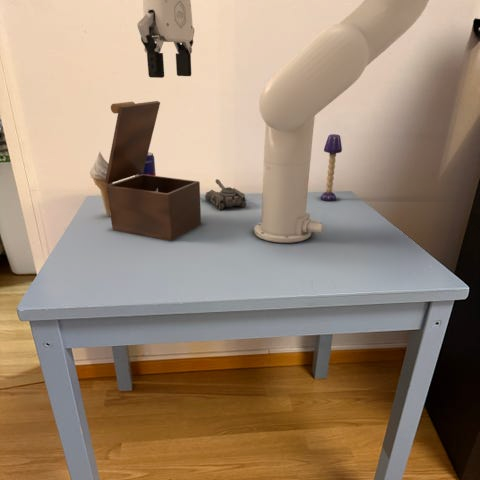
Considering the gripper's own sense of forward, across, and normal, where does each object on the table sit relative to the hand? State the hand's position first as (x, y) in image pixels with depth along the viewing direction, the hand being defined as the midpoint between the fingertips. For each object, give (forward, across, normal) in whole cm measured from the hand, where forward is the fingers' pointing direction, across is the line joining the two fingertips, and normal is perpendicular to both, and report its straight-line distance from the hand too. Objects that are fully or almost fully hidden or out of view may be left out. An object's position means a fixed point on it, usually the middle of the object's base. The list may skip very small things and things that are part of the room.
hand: (170, 76), depth 89 cm
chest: (+30, -3, +4) cm, 31 cm away
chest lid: (+13, -3, +8) cm, 15 cm away
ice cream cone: (+31, -2, +19) cm, 36 cm away
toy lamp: (+31, +38, -24) cm, 54 cm away
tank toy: (+31, +21, -1) cm, 37 cm away
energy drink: (+31, +14, +19) cm, 39 cm away
